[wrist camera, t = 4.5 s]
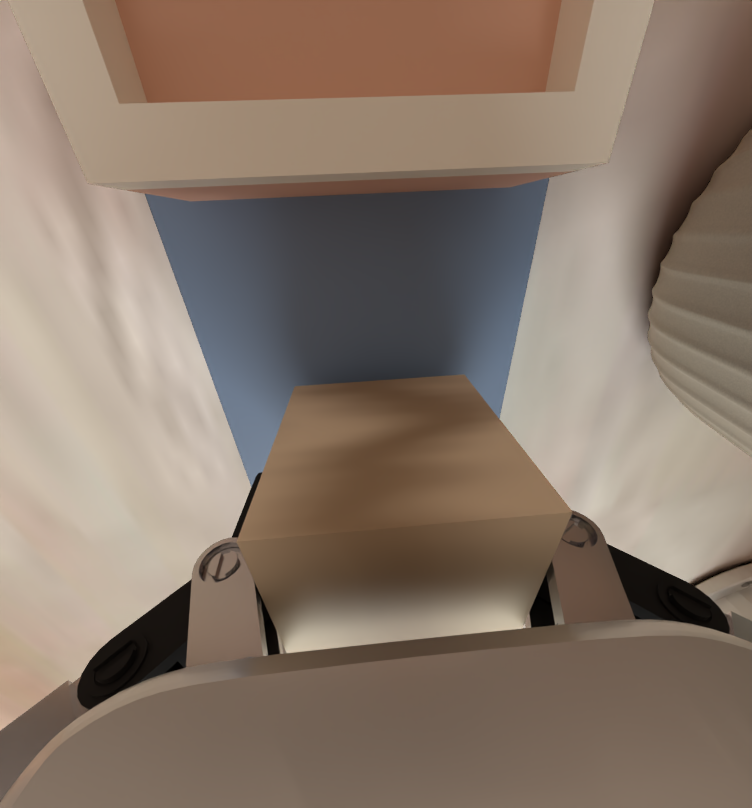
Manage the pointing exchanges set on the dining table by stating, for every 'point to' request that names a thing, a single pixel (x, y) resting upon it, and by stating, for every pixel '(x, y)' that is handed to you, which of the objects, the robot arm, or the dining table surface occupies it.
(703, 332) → the canister
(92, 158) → the multicoloured piece
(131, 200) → the dining table surface
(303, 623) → the birch block
